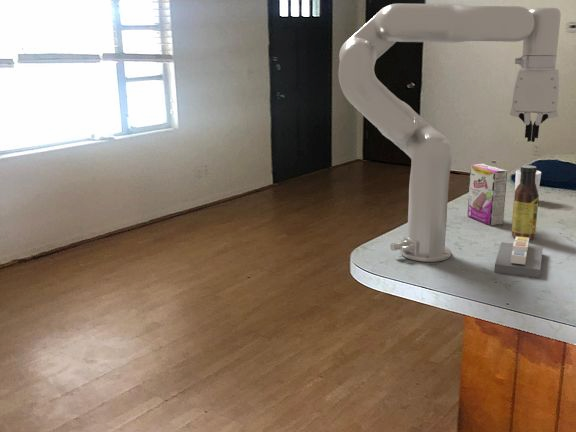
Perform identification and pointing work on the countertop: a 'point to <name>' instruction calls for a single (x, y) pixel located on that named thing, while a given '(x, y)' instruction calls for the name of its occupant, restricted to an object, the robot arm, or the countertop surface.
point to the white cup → (518, 177)
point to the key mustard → (522, 239)
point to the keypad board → (528, 269)
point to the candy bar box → (487, 194)
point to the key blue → (518, 257)
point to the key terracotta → (520, 246)
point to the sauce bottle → (525, 204)
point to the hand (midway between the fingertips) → (531, 140)
